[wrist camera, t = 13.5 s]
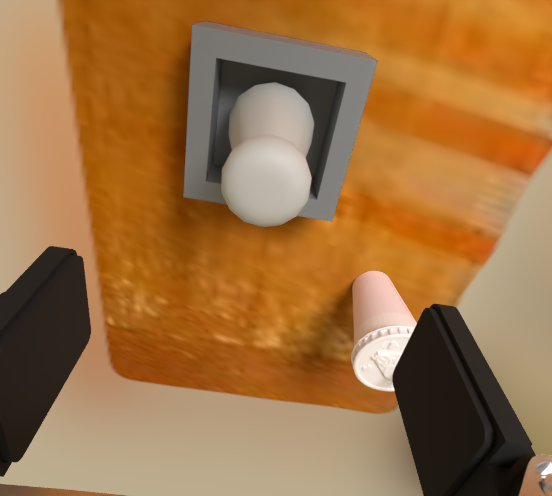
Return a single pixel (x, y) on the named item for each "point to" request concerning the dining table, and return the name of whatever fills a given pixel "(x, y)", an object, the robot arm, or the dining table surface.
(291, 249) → the dining table surface
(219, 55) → the socket holder
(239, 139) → the salt shaker
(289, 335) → the dining table surface
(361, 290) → the smoothie
